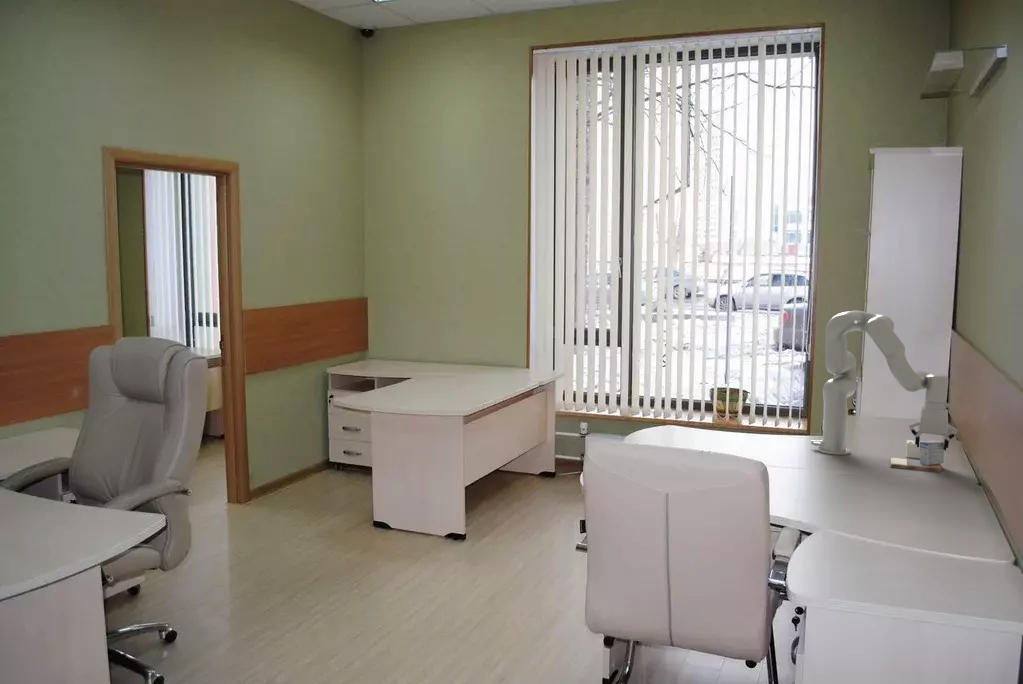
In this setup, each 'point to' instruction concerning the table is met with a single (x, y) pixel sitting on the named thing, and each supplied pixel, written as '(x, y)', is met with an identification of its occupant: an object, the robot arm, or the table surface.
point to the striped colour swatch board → (913, 465)
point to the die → (912, 449)
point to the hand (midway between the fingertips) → (931, 448)
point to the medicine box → (931, 452)
